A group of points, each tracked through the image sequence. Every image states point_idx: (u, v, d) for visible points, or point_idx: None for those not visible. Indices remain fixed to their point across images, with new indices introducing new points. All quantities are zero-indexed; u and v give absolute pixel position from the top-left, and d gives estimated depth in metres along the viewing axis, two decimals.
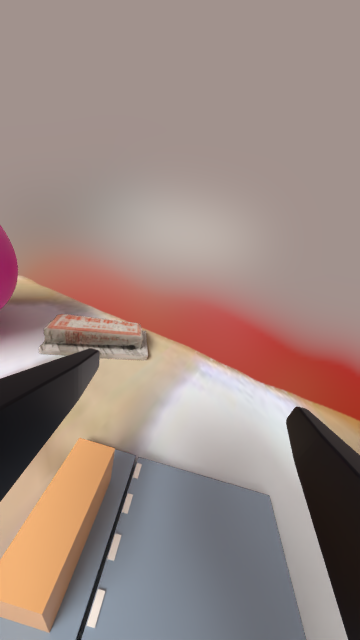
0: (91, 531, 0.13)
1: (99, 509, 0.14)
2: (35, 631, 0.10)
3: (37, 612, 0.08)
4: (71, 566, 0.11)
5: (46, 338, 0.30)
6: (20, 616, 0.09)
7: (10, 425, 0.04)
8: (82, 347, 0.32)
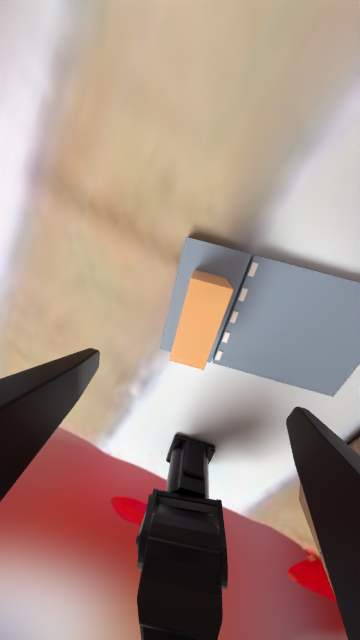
0: None
1: None
2: None
3: (201, 368, 0.15)
4: None
5: None
6: None
7: (10, 425, 0.04)
8: None
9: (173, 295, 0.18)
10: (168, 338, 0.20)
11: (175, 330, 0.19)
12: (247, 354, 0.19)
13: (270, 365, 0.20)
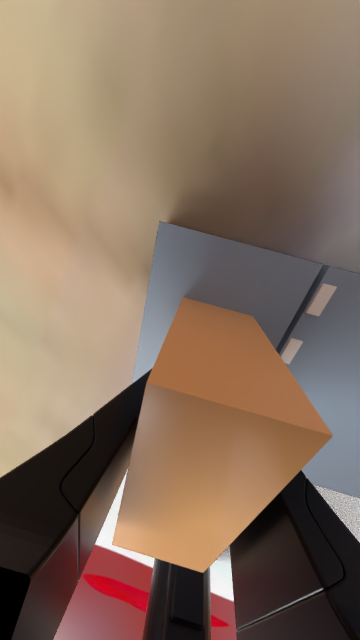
0: None
1: None
2: None
3: None
4: None
5: None
6: None
7: (120, 458, 0.04)
8: None
9: (140, 346, 0.09)
10: None
11: None
12: None
13: (329, 469, 0.10)
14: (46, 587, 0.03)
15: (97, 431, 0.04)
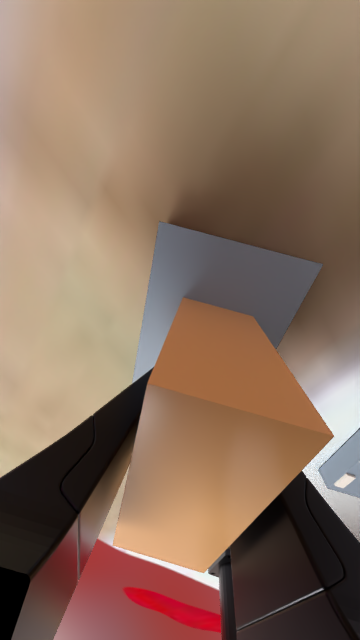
0: None
1: None
2: None
3: None
4: None
5: None
6: None
7: (120, 458, 0.04)
8: None
9: (140, 347, 0.09)
10: None
11: None
12: None
13: None
14: (46, 587, 0.03)
15: (97, 431, 0.04)
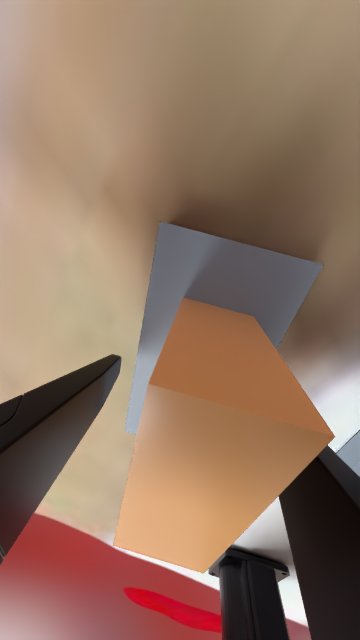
0: None
1: None
2: None
3: None
4: None
5: None
6: None
7: (48, 436, 0.04)
8: None
9: (141, 347, 0.09)
10: (138, 417, 0.11)
11: None
12: None
13: None
14: None
15: (20, 408, 0.04)
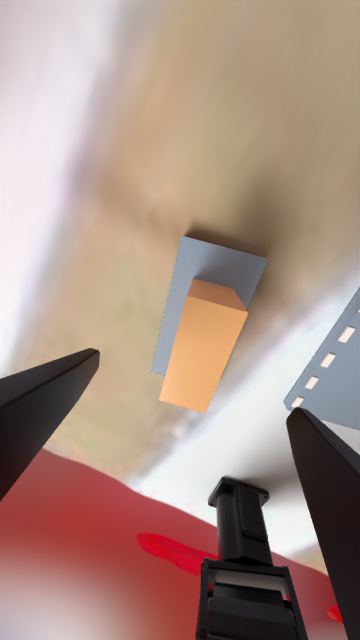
0: None
1: None
2: None
3: (201, 410, 0.11)
4: None
5: None
6: None
7: (10, 425, 0.04)
8: None
9: (166, 309, 0.14)
10: (161, 360, 0.16)
11: (169, 351, 0.16)
12: (335, 402, 0.16)
13: None
14: None
15: None
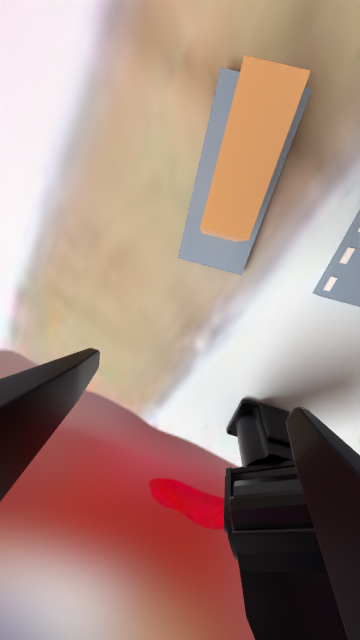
0: None
1: None
2: (226, 240, 0.15)
3: (244, 239, 0.11)
4: None
5: None
6: (222, 236, 0.13)
7: (10, 425, 0.04)
8: None
9: (199, 171, 0.14)
10: (189, 241, 0.16)
11: (199, 228, 0.15)
12: None
13: None
14: None
15: None
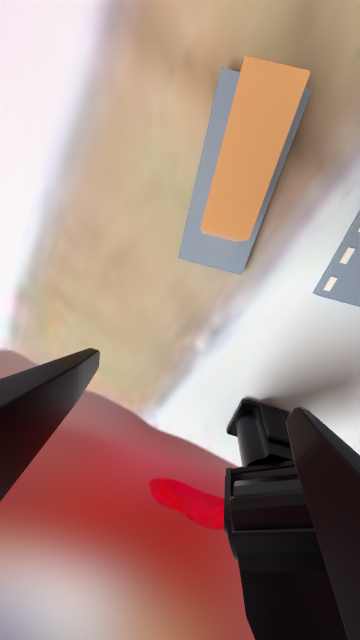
0: None
1: None
2: (226, 240, 0.15)
3: (244, 239, 0.11)
4: None
5: None
6: (222, 236, 0.13)
7: (10, 425, 0.04)
8: None
9: (199, 171, 0.14)
10: (190, 240, 0.16)
11: (199, 228, 0.15)
12: None
13: None
14: None
15: None
